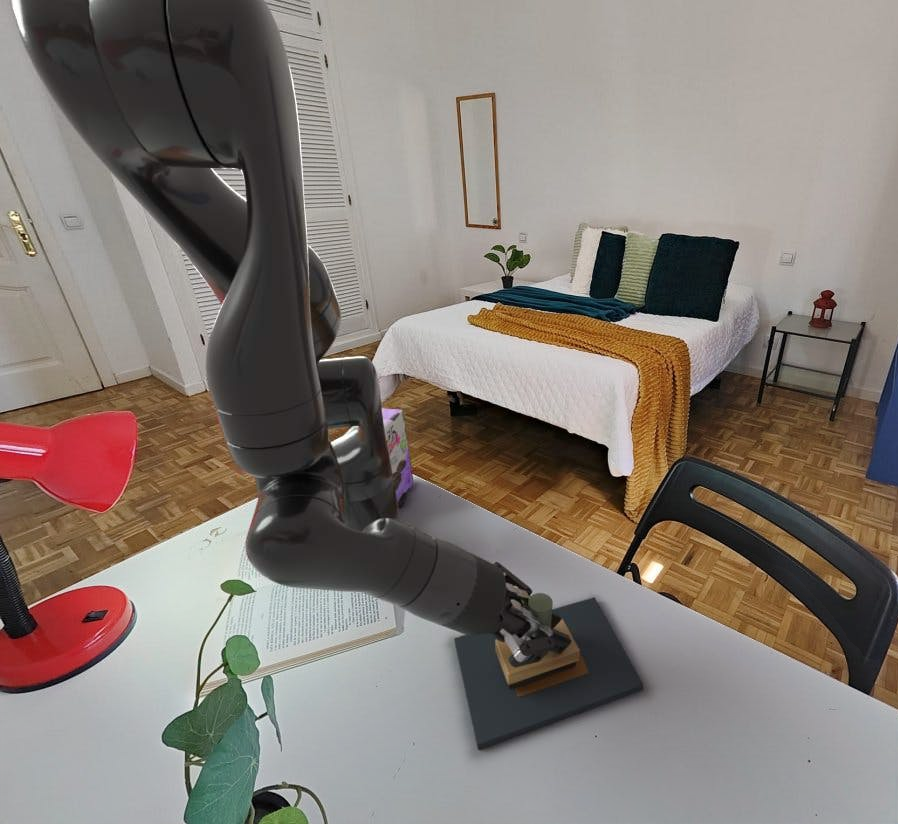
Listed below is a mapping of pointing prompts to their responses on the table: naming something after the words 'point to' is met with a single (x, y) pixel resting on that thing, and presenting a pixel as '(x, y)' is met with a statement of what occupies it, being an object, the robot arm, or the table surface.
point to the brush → (550, 662)
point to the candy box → (397, 449)
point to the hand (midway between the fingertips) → (560, 633)
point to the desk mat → (545, 679)
